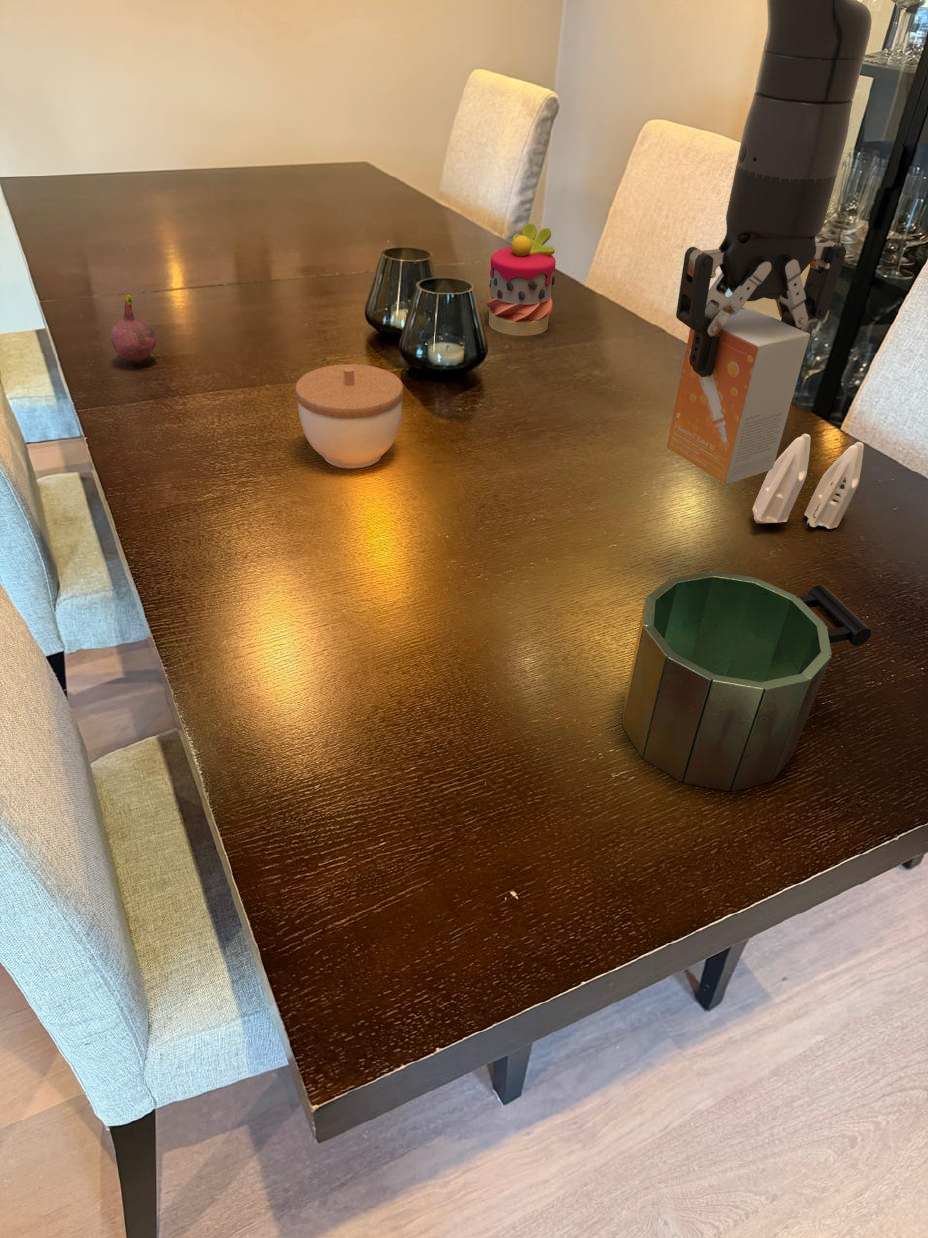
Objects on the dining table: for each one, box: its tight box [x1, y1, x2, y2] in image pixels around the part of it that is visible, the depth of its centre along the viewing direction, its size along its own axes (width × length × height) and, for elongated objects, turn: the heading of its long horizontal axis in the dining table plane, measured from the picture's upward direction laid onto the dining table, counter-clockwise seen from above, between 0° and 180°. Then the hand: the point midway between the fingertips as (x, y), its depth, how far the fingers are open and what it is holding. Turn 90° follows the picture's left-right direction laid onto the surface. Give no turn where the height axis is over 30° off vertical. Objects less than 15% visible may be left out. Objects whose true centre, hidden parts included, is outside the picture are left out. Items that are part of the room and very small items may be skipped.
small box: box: [666, 304, 811, 486], centre depth 80 cm, size 8×6×13 cm
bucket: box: [621, 570, 873, 792], centre depth 73 cm, size 11×14×18 cm
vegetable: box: [110, 294, 157, 364], centre depth 126 cm, size 6×6×10 cm
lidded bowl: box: [294, 363, 404, 469], centre depth 107 cm, size 13×13×11 cm
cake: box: [486, 222, 557, 337], centre depth 143 cm, size 10×11×15 cm
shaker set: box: [751, 433, 865, 530], centre depth 99 cm, size 12×4×11 cm, turn 99°
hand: (739, 369), depth 79 cm, fingers closed on small box, 7 cm apart
